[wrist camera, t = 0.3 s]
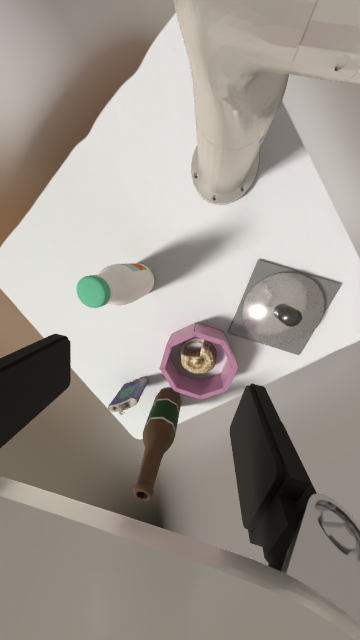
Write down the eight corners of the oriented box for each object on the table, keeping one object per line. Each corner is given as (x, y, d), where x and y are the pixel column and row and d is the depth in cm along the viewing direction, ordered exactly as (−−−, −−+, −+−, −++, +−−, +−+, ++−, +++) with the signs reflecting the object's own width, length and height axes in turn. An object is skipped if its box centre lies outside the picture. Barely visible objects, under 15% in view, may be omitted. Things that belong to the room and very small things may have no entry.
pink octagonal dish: (176, 316, 45) (172, 324, 40) (241, 337, 45) (247, 348, 39) (160, 371, 51) (155, 384, 45) (218, 390, 50) (219, 406, 45)
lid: (260, 262, 38) (269, 262, 33) (337, 285, 38) (360, 289, 32) (231, 331, 44) (235, 341, 38) (298, 352, 43) (311, 366, 38)
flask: (145, 375, 52) (131, 402, 42) (150, 383, 53) (137, 411, 43) (121, 384, 55) (102, 412, 45) (126, 391, 55) (108, 420, 45)
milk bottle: (161, 276, 43) (125, 286, 24) (145, 301, 45) (102, 328, 26) (134, 257, 42) (76, 252, 23) (120, 283, 45) (57, 298, 26)
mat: (258, 259, 39) (258, 259, 38) (339, 283, 38) (341, 284, 37) (228, 331, 45) (228, 332, 44) (297, 353, 44) (298, 355, 43)
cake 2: (223, 359, 48) (225, 371, 43) (192, 373, 51) (191, 387, 46) (204, 330, 45) (204, 341, 41) (172, 347, 48) (169, 359, 43)
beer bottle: (186, 402, 53) (172, 504, 31) (166, 411, 56) (139, 513, 33) (171, 383, 52) (145, 476, 29) (151, 393, 54) (112, 487, 32)
